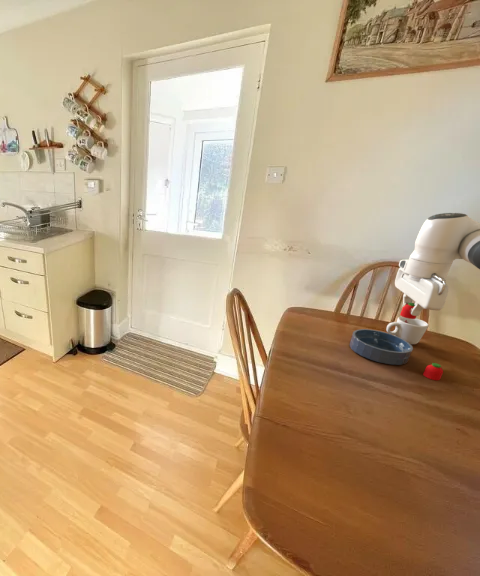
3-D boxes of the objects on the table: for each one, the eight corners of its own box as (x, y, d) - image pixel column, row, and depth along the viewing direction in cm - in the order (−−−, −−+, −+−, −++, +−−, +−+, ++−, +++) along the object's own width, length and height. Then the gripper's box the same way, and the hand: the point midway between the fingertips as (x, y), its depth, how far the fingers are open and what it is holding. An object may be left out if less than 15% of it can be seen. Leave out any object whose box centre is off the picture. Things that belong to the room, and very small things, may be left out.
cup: (389, 344, 111) (397, 324, 108) (376, 333, 118) (383, 314, 115) (426, 347, 109) (435, 327, 106) (410, 336, 116) (418, 317, 113)
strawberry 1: (412, 314, 98) (417, 302, 97) (418, 319, 95) (423, 306, 94) (397, 313, 100) (402, 300, 98) (403, 317, 97) (408, 305, 95)
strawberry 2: (429, 372, 96) (435, 360, 94) (443, 379, 93) (449, 367, 91) (419, 373, 96) (424, 361, 94) (432, 381, 92) (438, 368, 91)
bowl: (395, 345, 110) (400, 333, 108) (417, 370, 97) (423, 356, 95) (343, 338, 116) (347, 326, 114) (357, 360, 102) (361, 347, 101)
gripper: (463, 281, 82) (442, 328, 87) (422, 261, 99) (407, 300, 105) (432, 279, 84) (413, 324, 89) (397, 259, 102) (383, 298, 107)
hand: (409, 311), depth 97 cm, fingers closed on strawberry 1, 3 cm apart
